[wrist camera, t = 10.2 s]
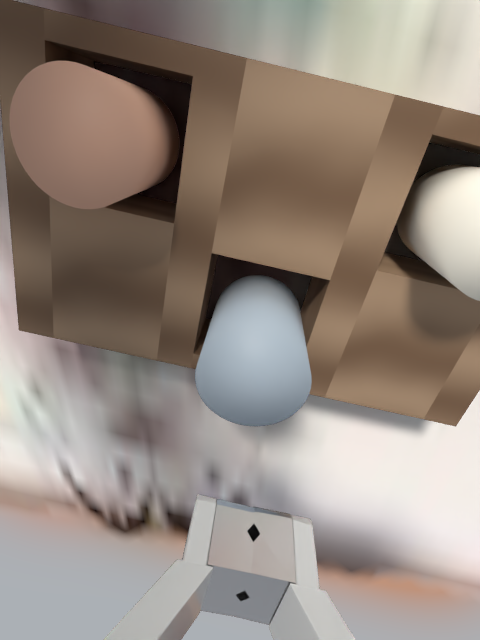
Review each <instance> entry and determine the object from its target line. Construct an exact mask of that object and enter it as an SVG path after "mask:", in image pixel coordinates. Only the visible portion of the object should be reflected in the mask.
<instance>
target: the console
mask: <svg viewBox="0 0 480 640" xmlns="http://www.w3.org/2000/svg"><path fill="white" fill-rule="evenodd" d="M52 61H71V62H76V63H80V64H83V65H86V66H88V67H91V68H93V69H94V61H97V62H101V63H105V64H109V65H113V66H117V67H121V68H125V69H129V70H134V71H138V72H142V73H146V74H150V75H154V76H158V77H162V78H166V79H170V80H175V81H179V82H183V83H187V84H191V85H192V88H191V95H190V103H189V111H188V119H187V127H186V135H185V143H184V150H183V158H182V166H181V174H180V182H179V190H178V197H177V204H176V203H172V202H168V201H163V200H159V199H155V198H150V197H146V196H142V195H138V194H134V195H132V196H129V197H127V198H125V199H122V200H120V201H118V202H115V203H113V204H111V205H108V206H106V207H102V208H99V209H80V208H74V207H71V206H68V205H65V204H63V203H61V202H59V201H57V200H55V199H53V198H52V197H50V196H49V195H48V194H46V193H45V192H44V191H43V190H42V189H40V188H39V187H38V186H37V185H36V184H35V182H34V181H33V180H32V179H31V178H30V176H29V175H28V174H27V172H26V171H25V169H24V168H23V166H22V164H21V163H20V160H19V158H18V156H17V154H16V151H15V148H14V146H13V142H12V138H11V132H10V117H9V116H10V106H11V102H12V98H13V96H14V93H15V91H16V88H17V87H18V85H19V83H20V82H21V80H22V79H23V78H24V77H25V76H26V75H27V74H28V73H29V72H30V71H31V70H33V69H34V68H36V67H38V66H39V65H42V64H45V63H47V62H52ZM0 103H1V115H2V128H3V140H4V153H5V165H6V177H7V190H8V202H9V214H10V227H11V239H12V251H13V264H14V276H15V288H16V301H17V313H18V325H19V330H20V331H25V332H29V333H34V334H38V335H43V336H47V337H52V338H56V339H61V340H65V341H70V342H75V343H79V344H84V345H88V346H93V347H97V348H102V349H106V350H111V351H115V352H120V353H125V354H129V355H134V356H138V357H143V358H147V359H152V360H156V361H161V362H166V363H170V364H175V365H179V366H184V367H188V368H193V369H196V366H197V363H198V360H199V357H200V354H201V350H202V347H203V344H204V341H205V338H206V335H207V332H208V329H209V326H210V322H211V319H207V318H206V315H207V310H208V305H209V299H210V294H211V289H212V284H213V278H214V273H215V268H216V263H217V257H218V255H222V256H227V257H231V258H235V259H240V260H244V261H248V262H253V263H257V264H262V265H266V266H270V267H275V268H279V269H283V270H288V271H292V272H296V273H301V274H305V275H309V276H312V278H311V281H310V284H309V287H308V290H307V293H306V296H305V299H304V302H303V305H302V309H301V318H302V324H303V330H304V336H305V342H306V347H307V353H308V359H309V365H310V371H311V380H312V383H311V389H310V393H309V394H311V395H316V396H320V397H325V398H329V399H334V400H338V401H343V402H347V403H352V404H357V405H361V406H366V407H370V408H375V409H379V410H384V411H388V412H393V413H397V414H402V415H407V416H411V417H416V418H420V419H425V420H429V421H434V422H438V423H443V424H447V425H452V426H456V425H457V424H458V422H459V421H460V419H461V418H462V416H463V415H464V413H465V412H466V410H467V408H468V407H469V405H470V404H471V402H472V401H473V399H474V398H475V396H476V395H477V393H478V392H479V390H480V301H478V300H475V299H473V298H471V297H469V296H467V295H465V294H464V293H463V292H461V291H460V290H459V289H458V288H456V287H455V286H454V285H453V284H451V283H450V282H449V281H448V280H447V279H445V278H444V277H443V276H442V275H440V274H439V273H438V272H437V271H435V270H434V269H433V268H432V267H431V266H429V265H428V264H427V263H426V262H424V261H421V260H416V259H412V258H408V257H403V256H399V255H395V254H391V253H386V252H384V251H385V249H386V247H387V244H388V242H389V239H390V237H391V234H392V232H393V229H394V227H395V225H396V222H397V220H398V217H399V215H400V212H401V210H402V207H403V205H404V203H405V200H406V198H407V195H408V193H409V190H410V188H411V185H412V183H413V181H414V178H415V176H416V173H417V171H418V168H419V166H420V164H421V161H422V159H423V156H424V154H425V151H426V149H427V146H428V144H429V143H434V144H438V145H442V146H446V147H450V148H454V149H458V150H462V151H466V152H471V153H475V154H479V155H480V116H479V115H475V114H471V113H467V112H463V111H459V110H455V109H451V108H447V107H443V106H439V105H435V104H431V103H427V102H423V101H419V100H415V99H411V98H407V97H402V96H398V95H394V94H390V93H386V92H382V91H378V90H374V89H370V88H366V87H362V86H358V85H354V84H350V83H346V82H342V81H338V80H334V79H329V78H325V77H321V76H317V75H313V74H309V73H305V72H301V71H297V70H293V69H289V68H285V67H281V66H277V65H273V64H269V63H265V62H261V61H256V60H252V59H248V58H244V57H240V56H236V55H232V54H228V53H224V52H220V51H216V50H212V49H208V48H204V47H200V46H196V45H192V44H188V43H184V42H179V41H175V40H171V39H167V38H163V37H159V36H155V35H151V34H147V33H143V32H139V31H135V30H131V29H127V28H123V27H119V26H115V25H111V24H106V23H102V22H98V21H94V20H90V19H86V18H82V17H78V16H74V15H70V14H66V13H62V12H58V11H54V10H50V9H46V8H42V7H38V6H33V5H29V4H25V3H21V2H17V1H13V0H0Z"/></svg>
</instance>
